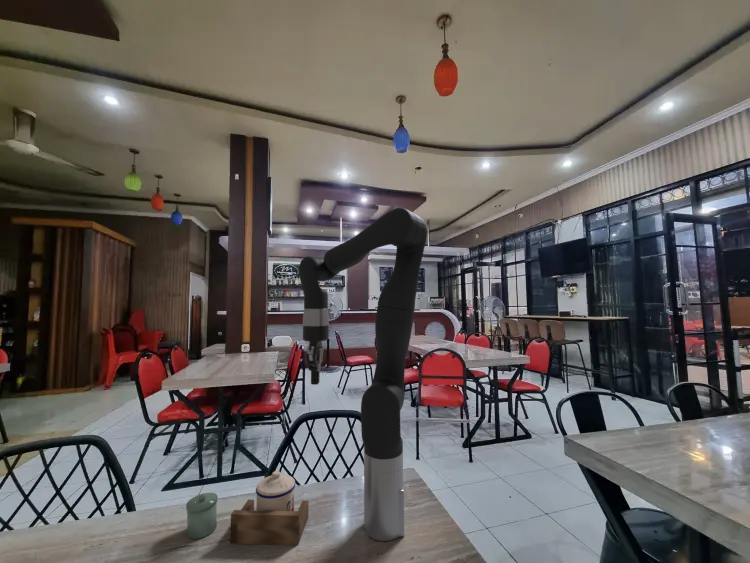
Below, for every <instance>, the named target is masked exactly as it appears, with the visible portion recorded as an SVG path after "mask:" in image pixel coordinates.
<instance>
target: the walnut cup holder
mask: <svg viewBox="0 0 750 563" xmlns="http://www.w3.org/2000/svg"><path fill="white" fill-rule="evenodd" d="M309 502H310V500H301V503H300V505H299V508H298V510H294V511H260V510H256V509H255V499H247V500H246V502H245V504H244V505H243V506H242V508H241V509H234V510H233V511H232V512H231V514H230V533H229V534H230V535H229V536H230V537H229V544H237V545H239V544H240V545H241V544H245V545H249V544H250V545H283V546H284V545H287V546H288V545H290V546H292V545H294V546H296V545H297V546H298V545H299V544H300V541H301V538H302V536H303V533H304V531H305V528H306V525H307V523H308V519H309Z"/></svg>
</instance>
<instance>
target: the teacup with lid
mask: <svg viewBox="0 0 750 563" xmlns="http://www.w3.org/2000/svg"><path fill="white" fill-rule="evenodd" d="M295 488H296V480H295V478H294V477H292V476H291V475H289V474H284V473H281V472H280V470H275V471H272V473H271V475H269V476H266V477H265V478H263V479H261V480H260V481H259V482H258V483H257V485H256V487H255V493H256V509H255V510H260V511H295Z"/></svg>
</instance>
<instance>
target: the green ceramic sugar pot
mask: <svg viewBox="0 0 750 563" xmlns="http://www.w3.org/2000/svg"><path fill="white" fill-rule="evenodd" d="M195 502H196V503H195ZM217 502H218V495H217V493H215V492H206V493H205V492H204V493H201V494H198V495H195V496H194V497H192V498H190V499H189V500H188V501H187V502H186V505H185V506H186V507H185V508H186V509H185V510H186V512H187V514H186V517H187V522H186V526H187V528H186V530H187V534H186V535H187V538H189V539H192V540H198V539H201V538H205V537H206V536H208V535H210V534H212V533H213V532H214V531H215V530H217V529H216V528H217V524H218V522H217V521H218V520H217V519H218V516H217V515H218V514H217V512H218V510H217V505H218V504H217Z"/></svg>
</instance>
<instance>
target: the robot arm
mask: <svg viewBox="0 0 750 563" xmlns="http://www.w3.org/2000/svg"><path fill="white" fill-rule="evenodd" d="M427 236H428V226H427V224H426V221H425V220H424V219H423V218H422V216H419V215H418V214H416V213H414V212H412V211H411V210H409V209H407V208H404V207H396V208H392V209H391V210H389V211H387V212H385V214H383V215H382V216H380V217H379V218H377V219H376V220H375V221H374V222H372V224H370V225H368V226H367V227H366V228H364V229H363V230H362V231H360V232H359V233H358V234H356V235H354V236H353V237H352V238H350V239H348V240H346V241H345V242H342V243H340V244H338V245H336V246H334V247H331V248H330V249H328V250H327V251H326V252H325V253H324V256H323V257H322V258H321V257H317V256H316V257H315V256H309V255H308V256H304V257H303V258H302V259H301V261H300V263H299V265H298V277H299V281H300V284H301V288H302V292H303V314H302V340H303V341H305V342H308V344H309V345H308V347H307V351H306V353H307V354H306V355H305V357H306V362H307V367H308V371H309V372H310V384H311V385H312V386H313V385H319V383H320V378H321V376H320V371H321V368H322V366H323V359H324V352H325V350H324V346H323V344H322V343H323V342H324V341H325V342H326V341H328V340H329V337H330V336H329V328H330V327H329V326H330V324H329V322H330V321H329V318H330V317H329V316H330V315H329V309H328V308H329V306H328V305H329V293H328V291H327V290H326V289H323V288H322V287H320V285H319V282H327V281H329V280H332V279H334V277H335V276H337V275H338V274H340V272H343V271H345V270H347V269H350V268H352V267H354V266H355V265H358V264H359V263H360V262H361V261H363V260H364V258H365V257H366V256H368V254H369V253H371V252H372V251H374V250H375V249H378V248H381V247H382V248H383V247H385V246H389V245H391V246H394V247H396V253H395V259H394V260H395V261H394V267H393V270H392V272H391V275H390V277H389V278H388V280H387V281H386V283H385V284H384V287H383V289H382V291H381V292H380V295H379V297H378V301H377V306H376V308H377V309H376V313H375V315H376V316H375V327H374V331H375V332H374V334H375V343H376V362H375V368H374V374H373V377H372V382H371V385H369V387H368V388H367V389H366V390H365V391H364V392H363V395H362V397H361V402H360V427H361V429H360V430H361V439H362V440H361V441H362V443H363V528H364V531H365V534H366V535H367V536H369V538H372V540H376V541H379V542H389V541H393V540H395V539H397V538H399V537H405V493H404V492H405V490H404V448H403V447H404V441H403V438H402V436H401V433H402V432H401V410H402V409H403V406H404V402H405V371H406V370H405V369H406V368H405V367H406V359H407V354H408V352H409V347H410V341H411V336H412V330H413V325H414V317H415V309H416V298H417V297H416V296H417V291H418V284H419V275H420V270H421V264H422V259H423V255H424V251H425V247H426V243H427V242H426V241H427Z"/></svg>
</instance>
